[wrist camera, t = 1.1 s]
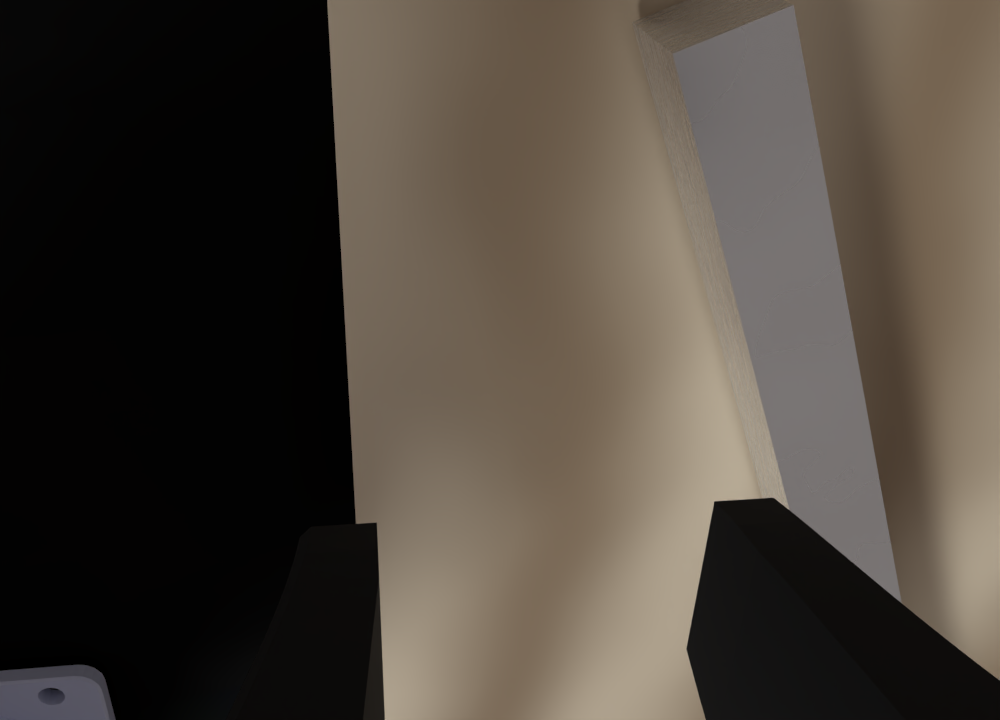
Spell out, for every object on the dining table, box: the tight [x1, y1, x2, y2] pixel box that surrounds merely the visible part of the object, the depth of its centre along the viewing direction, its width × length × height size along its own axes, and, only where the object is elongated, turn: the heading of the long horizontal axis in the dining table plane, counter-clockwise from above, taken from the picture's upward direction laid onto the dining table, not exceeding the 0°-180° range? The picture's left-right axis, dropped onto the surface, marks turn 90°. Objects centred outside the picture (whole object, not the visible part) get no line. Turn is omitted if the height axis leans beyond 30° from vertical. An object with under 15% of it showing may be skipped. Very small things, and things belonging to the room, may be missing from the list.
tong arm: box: [632, 0, 902, 603], centre depth 18 cm, size 3×22×2 cm, turn 20°
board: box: [327, 0, 1000, 720], centre depth 20 cm, size 19×28×1 cm
